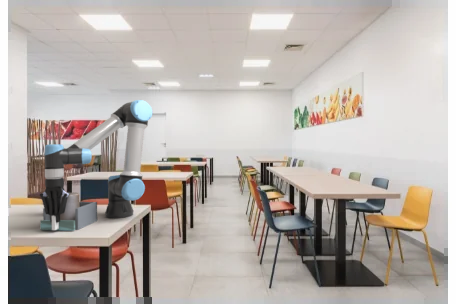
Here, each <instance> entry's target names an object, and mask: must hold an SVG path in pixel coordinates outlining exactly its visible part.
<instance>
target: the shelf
mask: <svg viewBox="0 0 456 304" xmlns="http://www.w3.org/2000/svg"><path fill="white" fill-rule="evenodd" d="M39 223H40V226H39V227H40V231H53V230H52V223H51V222H50V220H43V219H42V220H40V222H39ZM75 227H76V222H75V220H60V222H59V229H57V230H56V231H73V232H74V231H76V230H75Z"/></svg>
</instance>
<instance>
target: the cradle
mask: <svg viewBox="0 0 456 304" xmlns="http://www.w3.org/2000/svg"><path fill="white" fill-rule="evenodd" d="M79 202H80V207H79V208H76V209H75V218H76V227H75V230H74V231H79V230H81V229H83V228H85V227H87V226H89V225H91V224H93V223H96V222H97V221H98V201H79ZM42 220H50V215H48V214H46V213H45V209H44V207H43V208H42Z"/></svg>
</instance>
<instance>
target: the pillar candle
mask: <svg viewBox="0 0 456 304" xmlns="http://www.w3.org/2000/svg"><path fill="white" fill-rule="evenodd" d="M67 193H70V195H69V196H68V198H67V203H66V208H65V212H64V213H63V214H61V215H60V220H75V222H76V218H75V209H76V208H79V207H80V202H81V201H80V193H79V192H70V191H68V192H67ZM62 195H63V194H62ZM62 197H63V196H61V200H62Z"/></svg>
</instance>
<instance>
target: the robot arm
mask: <svg viewBox="0 0 456 304" xmlns="http://www.w3.org/2000/svg"><path fill="white" fill-rule="evenodd" d="M152 116H153V108H152V106H151V105H150V104H149V103H148V102H147V101H145V100H142V99H136V100H133V101H130V102H126V103H124V104H123V105H122V106H120V107H119V108H117V110H115V111H114V112H112V113H111V114H110V117H108V119H106V120H105V121H103V122H102V123H100V124H99V125H98V126H96V127H95V128H94V129H92V130H91V131H89V132H88V133H87V134H85V135H84V136H82V137H81V138H79V139H78V140H77V141H76V142H74V143H73V144H71V145H70V146H68V147H67V148H64V145H63V144H57V143H56V144H55V143H54V144H53V143H51V144H46V145H45V146H44V154H43V156H44V178H45V179H44V186H45V189H44V191H43V192H42V193H39V196H40V198H41V199H42V205H43V208H44V209H45V213H46V214H48V215H50V222H51V223H52V230H51V231H58V230H57V229H59V222H60V215H61V214H63V213H64V212H65V208H66V203H67V198H68V196H69V195H70V193H71V192H69V193H68V192H66V191H65V190H66V189H65V187H64V186H65V179H64V176H65V173H64V172H65V166H64V165H66V166H67V165H85V164H87V165H88V164H90V163H91V161H92V158H93V157H92V151H91V150H92V149H94V148H95V147H97V146H98V145H99V144H101V142H103V141H104V140H106V139H107V138H108V137H109V136H111V135H112V134H114V133H115V132H116V131H118V130H119V129H123V128H124V127H127V133H126V143H125V153H124V154H125V155H124V164H123V171H122V172H120V174H118V175H117V174H116V175H115V174H114V175H110V176H109V177H108V179H107V180H108V181H107V189H108V190H107V191H108V193H107V194H108V196H107V197H108V199H107V201H108V202H107V206H106V210H105V214H104V217H105V218H108V219H121V218H128V217H131V216H134V208H133V206H132V204H131V201H136V200H139V199H140V198H141V197H142V196H143V194H144V193H145V191H146V190H145V189H146V186H145V184H144V181H143V175H142V173H141V165H142V157H143V155H142V154H143V153H142V152H143V145H144V135H145V129H146V128H147V127H148V125H149V120H151V118H152ZM62 194H63V195H62ZM47 195H48V197H47ZM61 196H63V197H62V200H61Z"/></svg>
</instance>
